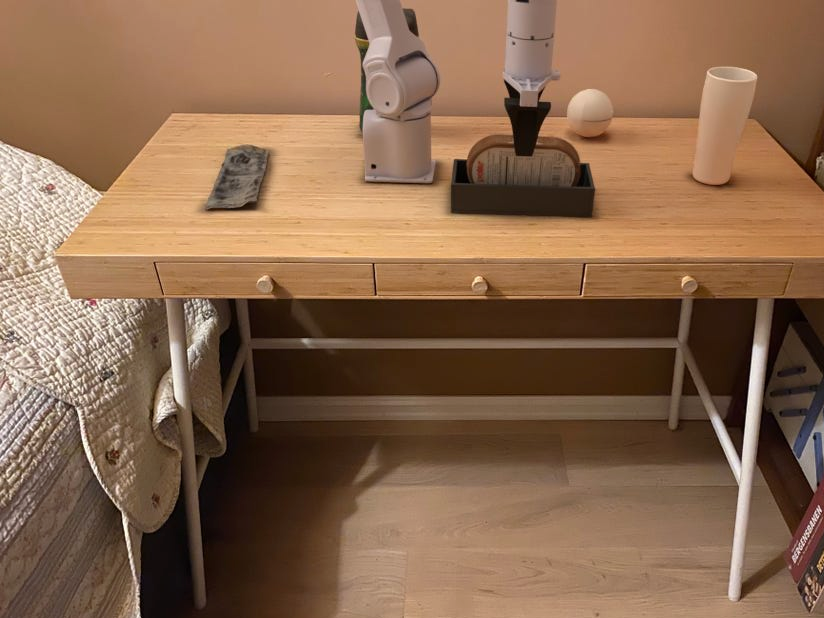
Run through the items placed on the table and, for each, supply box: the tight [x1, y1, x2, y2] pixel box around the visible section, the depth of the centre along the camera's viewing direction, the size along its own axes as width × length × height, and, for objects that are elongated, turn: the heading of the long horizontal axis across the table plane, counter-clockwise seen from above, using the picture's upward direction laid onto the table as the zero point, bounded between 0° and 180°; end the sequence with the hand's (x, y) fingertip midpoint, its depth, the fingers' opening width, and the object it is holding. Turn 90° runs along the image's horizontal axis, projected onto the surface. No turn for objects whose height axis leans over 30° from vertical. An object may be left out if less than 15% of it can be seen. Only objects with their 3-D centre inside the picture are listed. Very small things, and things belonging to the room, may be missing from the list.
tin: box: [466, 133, 581, 187], centre depth 104 cm, size 15×3×8 cm, turn 89°
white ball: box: [566, 88, 626, 138], centre depth 126 cm, size 10×7×7 cm
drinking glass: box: [691, 66, 758, 186], centre depth 110 cm, size 7×7×15 cm
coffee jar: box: [354, 7, 420, 134], centre depth 121 cm, size 10×8×19 cm
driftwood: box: [204, 144, 270, 211], centre depth 110 cm, size 21×7×2 cm, turn 6°
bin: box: [450, 158, 596, 218], centre depth 106 cm, size 18×8×4 cm, turn 89°
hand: (523, 144), depth 103 cm, fingers open, 7 cm apart
